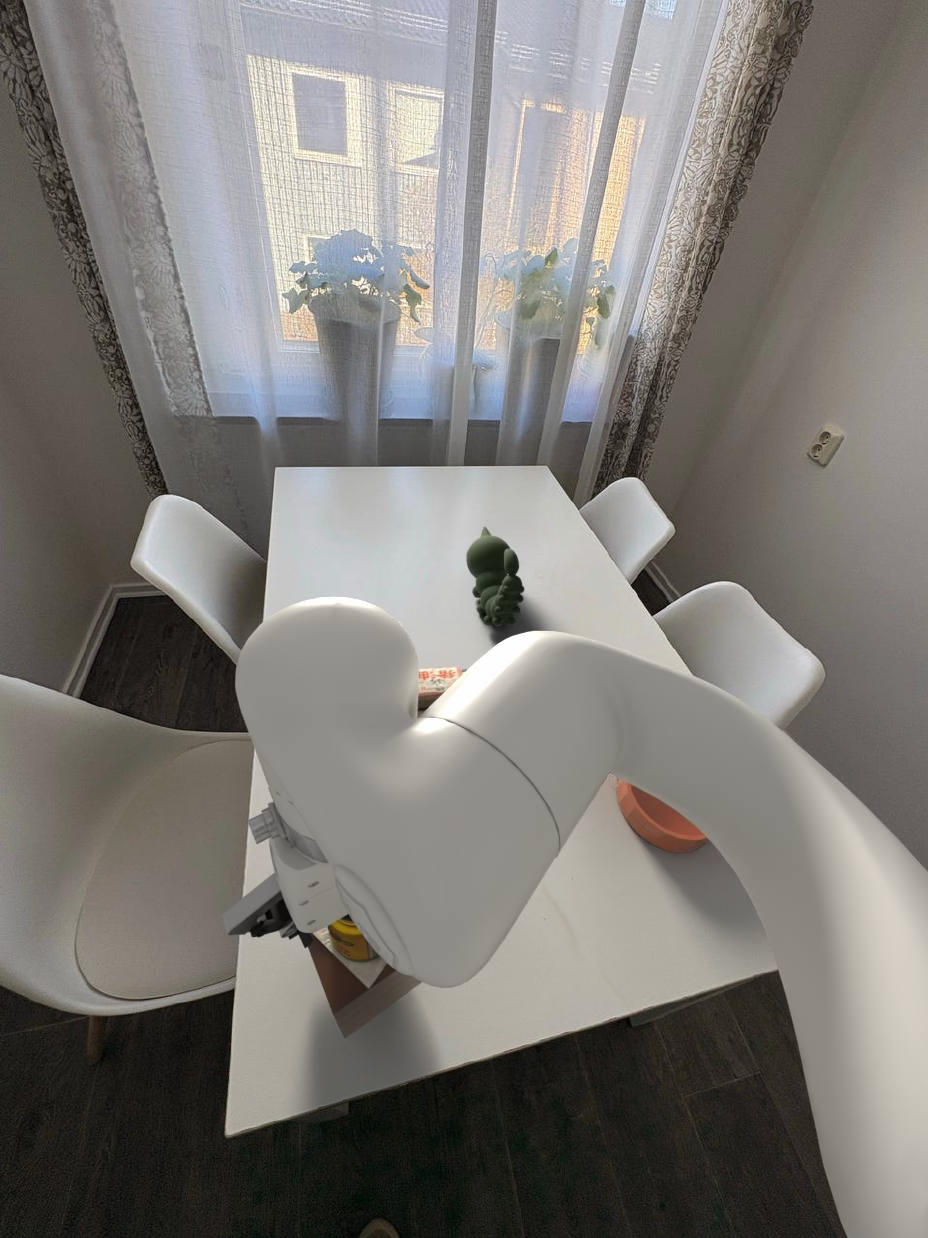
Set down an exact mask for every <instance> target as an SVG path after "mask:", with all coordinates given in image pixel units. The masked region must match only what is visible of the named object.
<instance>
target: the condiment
mask: <svg viewBox="0 0 928 1238" xmlns="http://www.w3.org/2000/svg"><path fill="white" fill-rule="evenodd" d="M313 934H314V935H315V936H316V937H317V938H318V939H319V940H320V941H321V942H322V943H323V944H324V945H325V946H326V947H327V948H328V949H329V950H330V951H331V952H332V953H333V954H334V955H335V956H336V957H337V958H338V959H339V960H340V961H341V962H342V963H343V964H344V965H345V966H346V967H347V968H348V969H349V970H350V971H351V972H352V973H353V974H354V975H355V976H356V977H357V978H358V979H359V980H360V981H361V982H362V983H363V984H364V985H365V986H366V987H367V988H368V989H369V988H370V987H371V985H372V984H373V982H374V981H375V980H376V978H377V977H378V975H379V974H380V973H381V971H382V970H383V969H384V967H385V966H386V964H387V962H385V961H384V960H383V959H382V958H381V957H380V956H379V955H378V954H377V953H376V951H375V950H374V949H373V948H372V947H371V945H370V944H369V943H368V941H367V940H366V939H365V937H364V936H363V934H362V933H361V932H360V931H359V929H358V928H357V926H356V925H355V923H354V922H353V920H352V919H351V917H350V916H349V914H347V915H345V916H344V917H342V918H340V919H339V920H337V921H335V922H334V923H332V924H330V925H328V926H327V927H325V928H323V929H321V930H318V931H316V932H313Z"/></svg>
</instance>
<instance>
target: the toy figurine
mask: <svg viewBox="0 0 928 1238" xmlns="http://www.w3.org/2000/svg"><path fill="white" fill-rule="evenodd" d="M465 554H466V556H465V559H466V560H465V561H466V567H467V569H468V571H469V573H470V575H471V576H472V577H473V578H474V579H475V586H474V587H473V588H472V589H471V590H472V591H471V594H472V595H473V598H476V599H480V600H479V601H480V602H479V604H478V605H477V607H476V611H477V613H478V614H479V615H485V614H486V615H485V616H484V618H483V624H484V625H485V626H487V627H491V626H495V627H500V626H501V625H502V624H503V625H505V626H512V627H513V626H515V625H516V624H517V618H516V617H515V615H519V614H520V613H521V612H522V608H521V607H520V606H519V604H520V603H523V602H524V596H523V595H522V594H523V593H524V592H525V587H524V585H523V581H522V578H521V577H520V576H519V575H517V574H518V572H519V570H520V560H519V557H518V555H517V553H516V552H515V551H514V550H513V549H512V548H511V546H509V543H507V542H506V541H505V540H504V539H503V538H501V537H499V536H495V535H492V533H491V532H490V531H489V529H488V528H487V527H486V526H483V527H482V530H481V533H480V537H478V538H476V539H475V540H474V541H473V542H472V543H471V544H470V546H469V548H468V549H467V550H466V553H465Z"/></svg>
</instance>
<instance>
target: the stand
mask: <svg viewBox="0 0 928 1238" xmlns="http://www.w3.org/2000/svg"><path fill="white" fill-rule="evenodd" d="M311 936H312V939H313V941H312V942H311V945H310V946H308V947H307V948H308V952H309V955H310V957H311V960H312V962H313V964H314V967H315V970H316V973H317V976H318V978H319V981H320V984H321V987H322V989H323V992H324V994H325V997H326V1000H327V1003H328V1006H329V1008H330V1011H331V1013H332V1015H333V1018H334V1019H335V1022H336V1024H337V1026H338V1028H339V1030H340V1032H341V1033H342V1036H343V1038H344V1039H347V1038H348V1037H350V1035H352V1034H353V1033H355V1032H356V1031H357V1030H359V1029H360V1028H361V1027H363V1026H364V1025H366V1024H367V1023H369V1022H370V1021H371V1020H373V1019H374V1018H375V1017H376V1016H378V1015H379V1014H381V1013H382V1012H384V1011H385V1010H386V1009H388V1008H389V1007H390V1006H392V1005H393V1004H394V1003H396V1002H397V1001H398V1000H400V999H401V998H403V997H404V996H405V995H407V994H408V993H410V992H411V991H412V990H414V989H415V988H416V987H418V986H419V985H421V984H422V983H423V982H421V981H420V980H418V979H416V978H415V977H413V976H410V975H405V974H402V973H400V972H398V971H397V970H395V969H394V968H393V967H391V966H390V965H389V964H388V963H387V964H386V966H385V967H384V969H383V970H382V971H381V973H380V974H379V975H378V977H377V978H376V980H375V981H374V982H373V984H372V985H371V987H370V988H369V989H368V988H367V987H366V986H365V985H364V984H363V983H362V982H361V981H360V980H359V979H358V978H357V977H356V976H355V975H354V974H353V973H352V972H351V971H350V970H349V969H348V968H347V967H346V966H345V965H344V964H343V963H342V962H341V961H340V960H339V959H338V958H337V957H336V956H335V955H334V954H333V953H332V952H331V951H330V950H329V949H328V948H327V947H326V946H325V945H324V944H323V943H322V942H321V941H320V940H319V939H318V938H317V937H316V936H315V935H314V934H313V933H311Z"/></svg>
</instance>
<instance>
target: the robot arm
mask: <svg viewBox="0 0 928 1238" xmlns="http://www.w3.org/2000/svg"><path fill="white" fill-rule="evenodd" d="M235 667H236V668H235V677H234V680H235V681H234V682H235V683H234V688H235V694H236V697H237V701H238V706H239V710H240V713H241V715H242V718H243V720H244V724H245V726H246V730H247V732H248V734H249V737H250V739H251V743H252V746H253V748H254V751H255V753H256V756H257V759H258V761H259V764H260V767H261V769H262V772H263V776H264V778H265V780H266V784H267V786H268V787H267V789H268V791H269V794H270V797H271V799H272V801H270V802H268V803H267V807H266V808H263V809H262V810H261V813H260V814H258V815H255V816H254V817H251V818H249V819H247V822H248V825H249V829H250V831H251V834H252V836H253V839H254V841H255V843H256V845H259V844H260V843H262V842H264V841H266V840H268V845H269V846H268V847H269V852H270V853H269V854H270V858H271V863H272V867H273V871H274V872H273V873H272V874H271V875H269V876H268V877H267V878H266V879H264V880H263V881H262V882H260V883H259V884H258V885H257V886H256V887H254V888H253V889H252V890H251V891H250V892H248V893H246V894H245V896H243V897H242V898H240V899H239V900H238V901H237V902H236V903H234V904H233V905H232V906H231V907H229V908H228V909H227V910H226V911H224V912H223V913H222V915H221V917H222V920H223V923H224V927H225V930H226V934H227V936H245V935H247V934H248V933H249V935H250V936H251V938H262V937H264V936H266V935H268V934H272V933H277V932H278V933H279V935H280V938H281V939H285V938H288V940H289V941H291V940H292V939H294V938H296V937H297V936H298V937H299V940H300V941H301V943H302V946H303V948H304V949H306V948H308V946H310V945H311V942H312V941H313V939H312V936H311V933H313V932H316V931H318V930H321V929H323V928H325V927H327V926H328V925H330V924H332V923H334V922H335V921H337V920H339V919H340V918H342V917H344V916H345V915H347V914H349V916H350V917H351V919H352V920H353V922H354V923H355V925H356V926H357V928H358V929H359V931H360V932H361V933H362V934H363V936H364V937H365V939H366V940H367V941H368V943H369V944H370V945H371V947H372V948H373V949H374V950H375V951H376V953H377V954H378V955H379V956H380V957H381V958H382V959H383V960H384V961H385V962H387V963H388V964H389V965H390V966H391V967H393V968H394V969H395V970H397V971H398V972H400V973H402V974H405V975H410V976H413V977H415V978H416V979H418V980H420V981H421V982H422V983H423V984H426V985H428V986H430V987H435V988H439V989H450V988H451V989H452V988H456V987H459V986H462V985H463V984H465V983H468V982H469V981H470V980H472V979H473V978H474V977H476V976H477V975H478V974H479V973H480V972H481V971H482V970H483V969H484V968H485V967H486V966H487V965H488V963H489V962H490V961H491V959H492V958H493V957H494V955H495V953H496V952H497V951H498V950H499V948H500V946H501V945H502V944H503V942H504V941H505V940H506V938H507V937H508V935H509V933H510V932H511V930H512V928H513V927H514V926H515V923H516V922H517V920H518V919H519V918H520V916H521V914H522V912H523V911H524V909H525V907H526V906H527V904H528V902H529V901H530V900H531V898H532V896H533V895H534V893H535V891H536V890H537V888H538V886H539V885H540V884H541V882H542V880H543V879H544V877H545V876H546V874H547V872H548V871H549V869H550V867H551V866H552V864H553V862H554V861H555V859H556V858H558V856H559V855H560V853H561V851H562V850H563V848H564V846H565V845H566V843H567V842H568V840H569V838H570V837H571V836H572V834H573V832H574V831H575V829H576V827H577V825H578V824H579V822H580V821H581V819H582V818H583V816H584V815H585V813H586V811H587V810H588V808H589V806H590V805H591V803H592V802H593V800H594V798H595V797H596V795H597V793H598V792H599V791H600V789H601V787H602V786H603V784H604V783H605V781H606V780H607V778H608V777H609V775H612V777H615V778H617V779H621V780H623V781H625V782H627V783H629V784H631V785H633V786H636V787H637V788H639V789H641V790H643V791H645V792H646V793H648V794H650V795H652V796H654V797H656V798H657V799H659V800H661V801H662V802H664V803H665V804H667V805H668V806H670V807H672V808H673V809H675V810H676V811H677V812H679V813H680V814H681V815H682V816H684V817H685V818H686V819H687V820H689V821H690V822H691V823H692V824H694V825H695V826H696V827H697V828H698V829H699V830H700V831H701V832H702V833H703V834H704V835H705V836H706V837H707V838H708V839H709V840H708V841H710V842H711V843H712V844H713V845H714V846H715V848H716V849H717V850H718V851H719V853H720V855H721V856H722V857H723V858H724V859H725V861H726V863H728V865H729V866H730V867H731V869H732V870H733V871H734V873H735V874H736V876H737V878H738V879H739V881H740V883H741V884H742V887H743V888H744V889H745V892H746V893H747V895H748V897H749V898H750V900H751V903H752V904H753V907H754V909H755V911H756V913H757V916H758V918H759V920H760V921H761V925H762V927H763V929H764V932H765V935H766V937H767V940H768V943H769V946H770V948H771V951H772V954H773V957H774V960H775V964H776V967H777V970H778V973H779V977H780V981H781V983H782V986H783V987H782V988H783V991H784V994H785V997H786V1001H787V1005H788V1009H789V1013H790V1017H791V1021H792V1025H793V1029H794V1033H795V1037H796V1041H797V1046H798V1051H799V1056H800V1060H801V1065H802V1070H803V1076H804V1080H805V1085H806V1089H807V1094H808V1099H809V1104H810V1108H811V1113H812V1117H813V1121H814V1126H815V1127H814V1128H815V1130H816V1137H817V1140H818V1146H819V1151H820V1156H821V1160H822V1161H821V1162H822V1165H823V1169H824V1171H825V1175H826V1179H827V1181H828V1185H829V1188H830V1192H831V1194H832V1198H833V1201H834V1206H835V1208H836V1211H837V1214H838V1218H839V1221H840V1223H841V1226H842V1228H843V1231H844V1232H845V1235H846V1238H928V870H927V869H926V868H925V867H924V866H923V865H922V864H921V863H920V862H919V861H918V859H917V858H916V857H915V856H914V855H913V854H912V853H911V851H909V849H908V848H907V847H906V846H905V844H903V843H902V841H900V839H899V838H898V837H897V836H896V835H895V834H894V833H893V832H892V831H891V830H890V829H889V828H888V827H887V826H886V825H885V824H884V823H883V822H882V821H881V820H880V819H879V818H878V817H877V815H875V814H874V813H873V812H872V811H871V810H870V809H869V808H868V807H867V805H866V804H864V803H863V802H862V801H861V800H860V799H859V798H858V797H857V796H856V794H854V793H853V792H852V791H850V789H848V787H847V786H845V785H844V784H843V783H842V782H841V781H840V780H839V779H838V778H836V777H835V776H834V775H833V774H832V773H831V772H830V771H829V770H828V769H826V768H825V767H824V766H823V764H821V763H820V762H818V761H817V760H816V759H815V758H814V757H812V755H811V754H809V753H808V752H807V751H806V750H805V749H803V748H802V747H801V746H800V745H799V744H798V743H796V742H795V741H794V740H793V738H792V737H790V736H789V735H788V734H786V733H785V731H783V730H782V729H781V728H780V727H778V726H777V725H776V724H774V723H773V722H772V721H771V720H769V719H768V718H767V717H766V716H764V715H763V714H761V713H760V712H758V711H757V710H756V709H755V708H753V707H751V706H750V705H749V704H747V703H746V702H744V701H743V700H741V699H740V698H738V697H737V696H734V695H733V694H731V693H730V692H728V691H727V690H726V691H725V689H722V688H720V687H718V686H717V685H715V684H713V683H711V682H708V681H706V680H704V679H701V678H699V677H697V676H695V675H693V674H690V673H687V672H685V671H683V670H680V669H677V668H675V667H672V666H670V665H667V664H664V663H661V662H659V661H656V660H653V659H650V658H648V657H645V656H643V655H640V654H637V653H634V652H632V651H629V650H627V649H624V648H621V647H618V646H615V645H612V644H609V643H606V642H604V641H600V640H597V639H593V638H591V637H590V638H589V637H585V636H582V635H578V634H572V633H568V632H564V631H563V632H562V631H554V630H531V631H525V632H523V633H519V634H515V635H512V636H509V637H507V638H505V639H504V640H502V641H500V642H498V643H497V644H495V645H494V646H493V647H492V648H490V649H489V651H487V652H486V653H485V654H483V655H482V656H481V657H480V658H479V659H478V660H476V661H475V663H473V664H472V665H471V666H470V667H469V668H468V669H467V671H466V672H465V673H464V674H463V675H462V676H461V677H460V678H459V679H458V680H456V681H455V682H454V683H453V684H452V685H451V686H450V687H449V688H448V689H447V690H446V691H445V692H444V693H443V694H442V695H441V696H440V697H439V698H438V699H437V700H436V701H435V702H434V703H433V704H432V705H431V706H430V707H429V708H428V709H427V710H426V711H425V712H423V713H422V714H421V715H420V716H419V717H418V718H417V710H418V693H419V669H420V663H419V658H418V654H417V650H416V647H415V644H414V642H413V640H412V638H411V636H410V634H409V632H408V631H407V629H405V627H404V626H403V625H402V624H401V622H400V621H399V620H398V619H396V618H395V617H394V616H392V615H391V614H390V613H389V612H388V611H386V610H384V609H383V608H381V607H379V606H377V605H375V604H373V603H370V602H367V601H364V600H361V599H356V598H350V597H341V596H328V597H327V596H326V597H324V596H323V597H316V598H311V599H306V600H302V601H299V602H296V603H292V604H290V605H288V606H286V607H284V608H282V609H280V610H279V611H277V612H275V613H274V614H273V613H272V615H270V616H268V617H267V618H266V619H265V620H264V621H262V622H261V623H260V624H259V625H258V626H257V628H256V629H255V630H254V631H253V632H252V633H251V634H250V636H249V637H248V638H247V639H246V642H245V643H244V645H243V647H242V648H241V651H240V653H239V656H238V660H237V663H236V666H235Z"/></svg>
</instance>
